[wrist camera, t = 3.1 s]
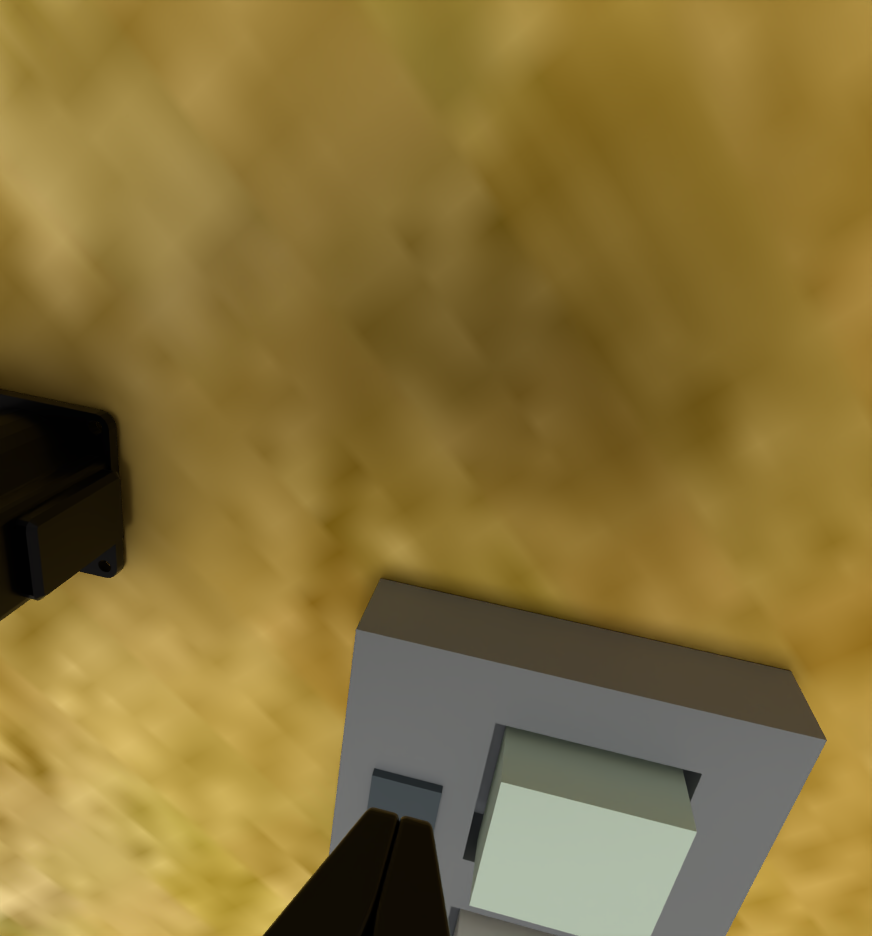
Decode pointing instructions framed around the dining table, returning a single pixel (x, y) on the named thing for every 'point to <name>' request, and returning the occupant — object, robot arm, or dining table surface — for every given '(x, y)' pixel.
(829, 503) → the dining table surface
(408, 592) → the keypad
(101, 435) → the robot arm
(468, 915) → the key offwhite
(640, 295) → the dining table surface
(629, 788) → the key sage
